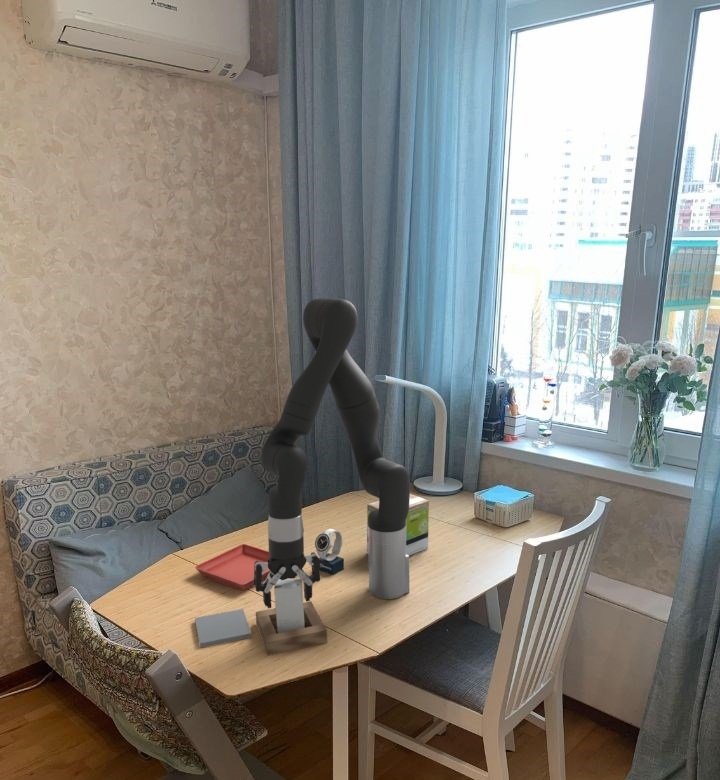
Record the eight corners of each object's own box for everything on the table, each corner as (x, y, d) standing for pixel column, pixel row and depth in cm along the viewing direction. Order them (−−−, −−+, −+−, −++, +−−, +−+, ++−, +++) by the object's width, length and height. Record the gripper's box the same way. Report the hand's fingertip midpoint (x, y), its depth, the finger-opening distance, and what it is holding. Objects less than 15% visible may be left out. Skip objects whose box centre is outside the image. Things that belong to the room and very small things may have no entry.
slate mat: (243, 612, 157) (242, 608, 157) (251, 637, 147) (251, 633, 146) (195, 621, 153) (194, 617, 153) (200, 647, 143) (199, 643, 143)
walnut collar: (311, 613, 156) (311, 601, 155) (327, 642, 144) (326, 629, 143) (256, 623, 152) (255, 611, 151) (267, 655, 140) (267, 642, 139)
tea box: (391, 565, 179) (390, 513, 176) (366, 553, 187) (365, 503, 184) (429, 548, 189) (429, 499, 186) (404, 538, 196) (404, 490, 193)
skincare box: (304, 626, 150) (302, 576, 148) (305, 637, 146) (302, 586, 144) (277, 628, 150) (274, 578, 147) (276, 639, 145) (274, 588, 143)
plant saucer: (243, 553, 189) (243, 542, 189) (291, 569, 179) (291, 557, 178) (194, 578, 175) (193, 566, 174) (243, 597, 165) (242, 585, 164)
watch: (312, 572, 176) (311, 533, 174) (332, 561, 182) (331, 523, 180) (328, 578, 173) (327, 538, 170) (348, 567, 179) (347, 528, 176)
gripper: (313, 522, 149) (314, 590, 152) (249, 531, 144) (252, 600, 147) (322, 535, 142) (324, 605, 145) (256, 545, 137) (258, 617, 140)
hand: (288, 603), depth 146 cm, fingers open, 8 cm apart
